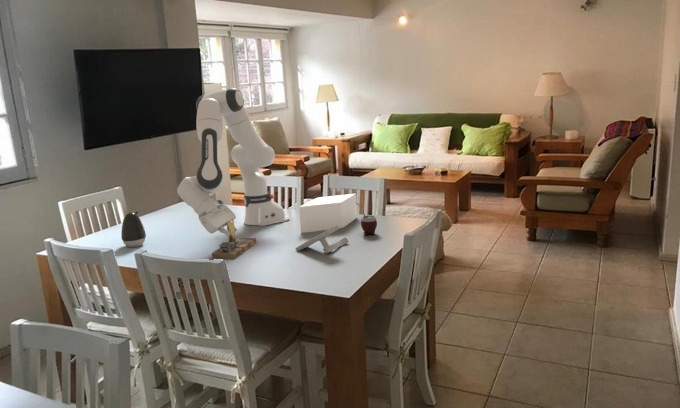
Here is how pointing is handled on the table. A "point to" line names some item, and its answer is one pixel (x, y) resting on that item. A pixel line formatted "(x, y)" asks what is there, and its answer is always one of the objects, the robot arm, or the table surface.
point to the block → (328, 212)
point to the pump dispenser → (132, 230)
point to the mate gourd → (368, 223)
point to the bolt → (232, 236)
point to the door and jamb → (234, 248)
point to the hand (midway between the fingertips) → (232, 233)
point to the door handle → (324, 241)
